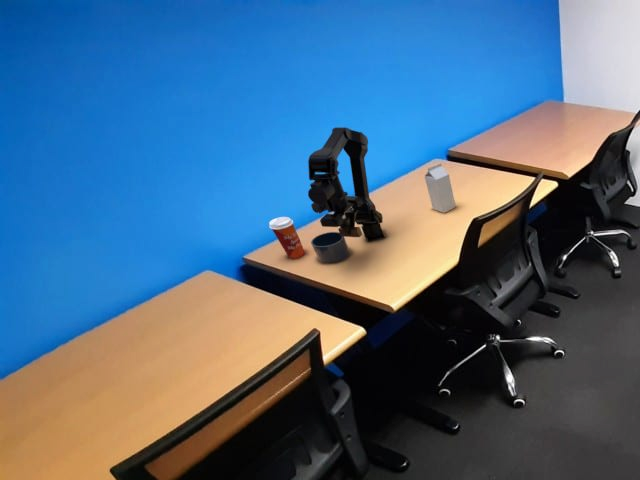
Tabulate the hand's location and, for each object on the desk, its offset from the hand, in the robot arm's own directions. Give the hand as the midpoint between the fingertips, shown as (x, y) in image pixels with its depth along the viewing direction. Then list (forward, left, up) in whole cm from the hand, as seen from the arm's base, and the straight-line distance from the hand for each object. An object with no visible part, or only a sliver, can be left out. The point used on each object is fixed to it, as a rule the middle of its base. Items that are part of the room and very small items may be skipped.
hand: (350, 232), depth 168 cm
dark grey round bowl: (+8, -6, -10) cm, 14 cm away
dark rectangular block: (0, 0, -1) cm, 1 cm away
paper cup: (+21, -14, -10) cm, 27 cm away
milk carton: (-39, -25, -10) cm, 47 cm away
